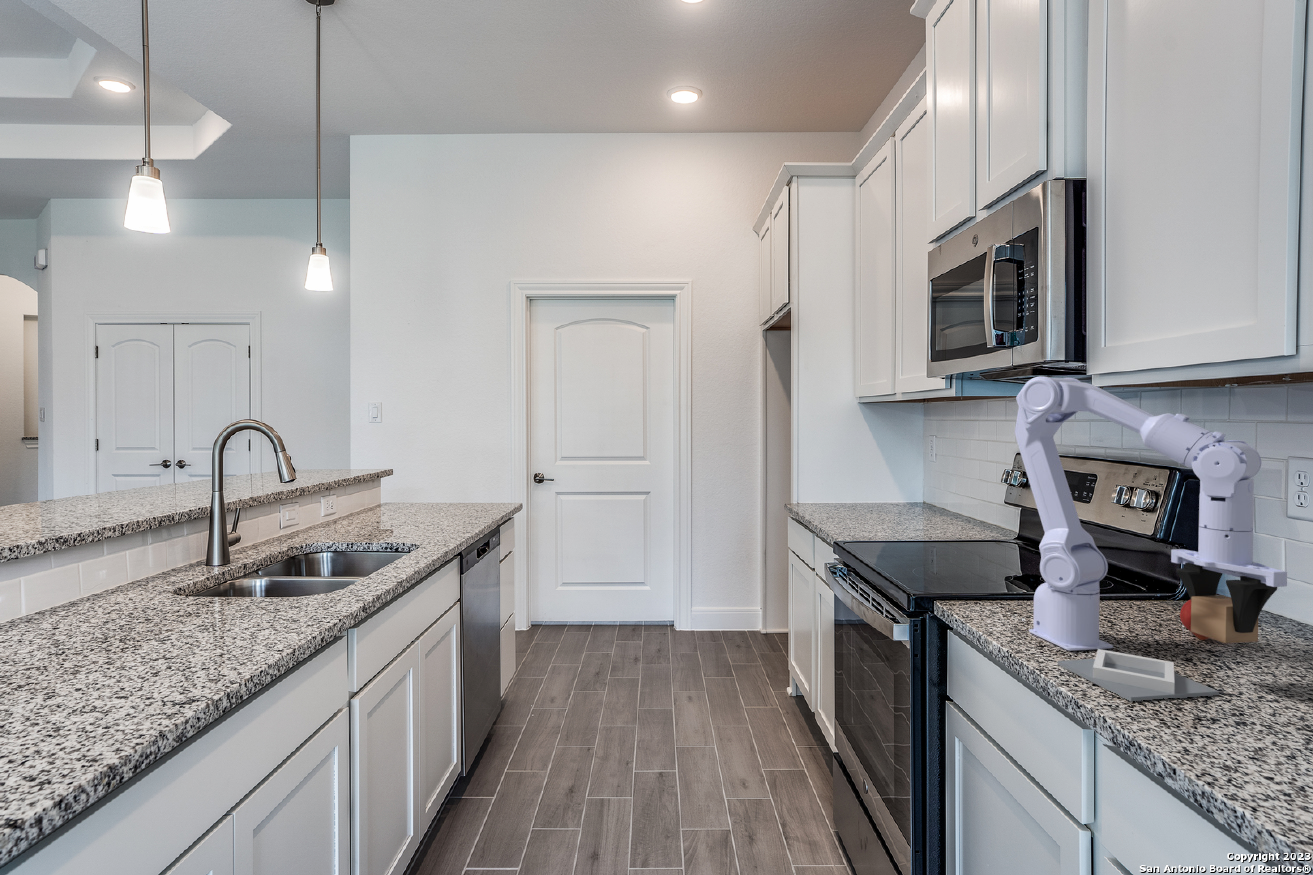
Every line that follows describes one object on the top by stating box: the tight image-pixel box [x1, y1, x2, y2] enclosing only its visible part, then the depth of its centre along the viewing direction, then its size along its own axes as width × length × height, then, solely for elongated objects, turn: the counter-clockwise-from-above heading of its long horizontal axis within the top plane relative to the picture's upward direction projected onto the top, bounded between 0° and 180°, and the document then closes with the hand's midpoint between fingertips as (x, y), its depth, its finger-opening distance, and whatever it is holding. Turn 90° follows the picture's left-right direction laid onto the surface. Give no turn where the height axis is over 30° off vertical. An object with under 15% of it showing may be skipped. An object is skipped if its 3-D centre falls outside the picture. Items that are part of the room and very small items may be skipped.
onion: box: [1179, 599, 1209, 641], centre depth 109 cm, size 6×6×8 cm
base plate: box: [1057, 649, 1220, 703], centre depth 93 cm, size 13×13×2 cm
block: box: [1190, 594, 1259, 644], centre depth 91 cm, size 5×5×5 cm
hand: (1223, 625), depth 91 cm, fingers closed on block, 5 cm apart
